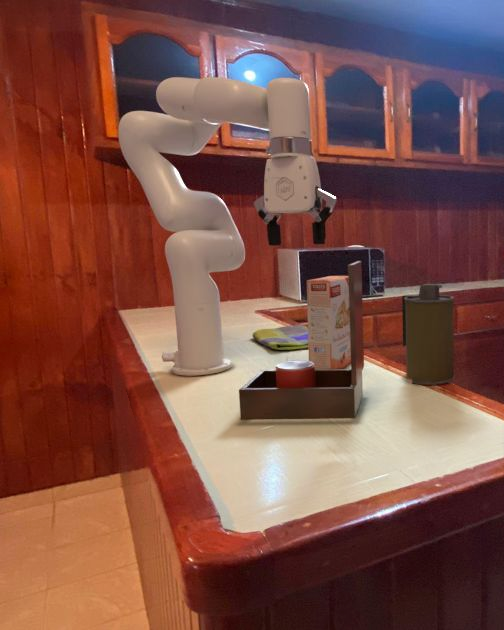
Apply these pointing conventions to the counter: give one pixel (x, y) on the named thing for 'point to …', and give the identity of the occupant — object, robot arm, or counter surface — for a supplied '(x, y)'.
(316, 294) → the cracker box
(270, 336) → the dish towel
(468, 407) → the counter surface
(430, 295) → the canister
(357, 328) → the lid
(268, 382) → the chest
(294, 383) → the tin can
